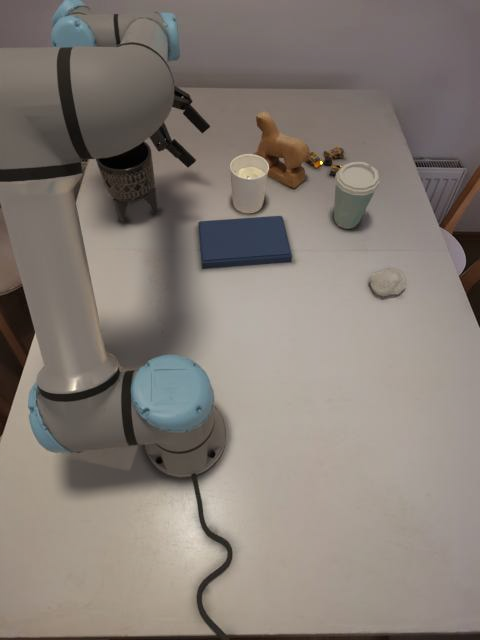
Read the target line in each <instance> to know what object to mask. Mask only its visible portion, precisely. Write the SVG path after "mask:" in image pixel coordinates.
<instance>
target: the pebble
mask: <svg viewBox="0 0 480 640" xmlns="http://www.w3.org/2000/svg"><path fill="white" fill-rule="evenodd" d="M368 280H369V282H370V288H371V290H372V291H373V292H374V294H375V295H377V296H379V297H387V296H391V295H392V296H394V295H396V296H397V295H399V294H401V293H402V291H404V290H405V289H406V288H407V285H408V283H407V279H406V273H405V272H404V271H403V270H402V269H400V268H397V267H385V268H382V269H381V270H378V271H376V272H373V273H372V274H371V275H370V276H369V277H368Z"/></svg>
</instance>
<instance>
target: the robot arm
mask: <svg viewBox="0 0 480 640" xmlns="http://www.w3.org/2000/svg"><path fill="white" fill-rule="evenodd" d="M50 24H51V27H52V29H51V32H50V42H51V46H50V47H46V46H45V47H42V46H41V47H40V46H39V47H0V207H1V211H2V215H3V218H4V222H5V227H6V229H7V233H8V237H9V241H10V244H11V247H12V251H13V256H14V259H15V262H16V267H17V270H18V274H19V277H20V282H21V285H22V288H23V292H24V295H25V300H26V303H27V307H28V311H29V314H30V317H31V318H30V319H31V322H32V325H33V329H34V333H35V337H36V340H37V344H38V348H39V351H40V355H41V359H42V362H43V363H42V364H43V367H42V368H41V369H40V370H39V371H38V373H37V374H36V379H35V380H36V381H35V382H34V383H33V385H32V386H31V388H30V390H29V392H28V398H27V408H28V409H29V414H28V421H29V424H30V428H31V431H32V433H33V435H34V437H35V439H36V441H37V443H38V444H39V445H40V446H41V447H42V448H43V449H44V450H46V451H47V452H49V453H53V454H64V453H65V454H67V453H70V454H80V453H83V452H89V451H96V450H97V451H98V450H107V449H118V448H126V447H127V448H128V447H134V446H144V450H145V452H146V454H147V456H148V458H149V460H150V461H151V463H152V464H153V466H155V467H156V468H157V469H158V470H159V471H160V472H162V473H164V474H165V475H168V476H171V477H174V478H180V479H181V478H182V479H186V478H191V479H192V485H193V490H194V494H195V499H196V504H197V512H198V513H197V515H198V520H199V523H200V527H201V528H202V530H203V532H204V533H205V534H206V535H207V536H208V537H209V538H210V539H212V540H214V541H216V542H218V543H220V544H222V545H223V546H224V547H225V549H226V551H227V553H226V554H227V555H226V556H227V557H226V558H225V561H224V562H223V564H222V565H220V566H219V567H218V568H217V569H215V570H213V572H211V573H210V574H209V575H207V576H206V577H205V578H204V579H202V580H201V582H200V584H199V586H198V588H197V591H196V605H197V609H198V612H199V614H200V616H201V618H202V620H203V621H204V622H205V623H206V624H207V626H208V627H209V628H210V629H211V630H212V631H213V632H214V633H215V634H216V635H217V636H218V637H219V638H220V639H221V640H231V638H230V637H229V635H227V634H226V632H224V631H223V630H222V629H221V628H220V626H219V625H218V624H217V623H215V621H214V620H213V619H211V617H210V616H209V614H208V613H207V611H206V610H205V607H204V605H203V592H204V589H205V587H206V586H207V585H208V584H209V583H210V582H212V581H213V580H214V579H215V578H217V577H218V576H219V575H221V574H222V573H223V572H224V571H226V569H228V567H229V566H230V564H231V563H232V559H233V548H232V545H231V544H230V542H229V541H228V540H227V539H226V538H224V537H222V536H220V535H218V534H216V533H215V532H213V531H212V530H211V529H210V528H209V526H208V525H207V523H206V520H205V515H204V508H203V507H204V506H203V500H202V495H201V491H200V487H199V482H198V478H197V477H198V476H199V475H201V474H203V473H205V472H206V471H208V470H209V469H211V468H212V467H213V466H214V465H215V464H216V463H217V461H218V460H219V459H220V457H221V455H222V453H223V451H224V449H225V444H226V439H227V432H226V424H225V420H224V417H223V416H222V413H221V412H220V410H219V409H218V408H217V407H216V405H215V391H214V389H213V387H212V384H211V380H210V378H209V376H208V373H207V372H206V371H205V370H204V368H203V367H202V366H201V365H199V364H198V363H197V362H196V361H194V360H193V359H191V358H189V357H187V356H183V355H178V354H163V355H159V356H156V357H153V358H151V359H150V360H148V361H147V362H146V364H144V365H142V366H140V368H139V369H133V370H120V364H119V361H118V359H117V357H116V356H115V355H114V354H111V353H110V352H108V351H106V347H105V343H104V337H103V333H102V327H101V323H100V317H99V312H98V307H97V301H96V297H95V292H94V287H93V282H92V276H91V271H90V266H89V261H88V256H87V251H86V246H85V242H84V235H83V231H82V227H81V222H80V216H79V211H78V205H77V201H76V195H75V188H76V186H77V185H78V183H79V182H80V180H81V179H82V177H83V176H84V172H83V171H84V170H83V167H82V161H84V160H96V159H98V158H108V157H112V156H116V155H119V154H122V153H124V152H127V151H129V150H131V149H133V148H134V147H136V146H138V145H140V144H141V143H142V142H144V141H145V142H146V141H147V140H148V139H150V141H151V143H152V144H153V146H154V147H155V149H156V150H157V151H158V152H162V151H164V150H167V151H168V152H169V153H170V154H171V155H172V156H173V157H174V158H176V159H177V160H179V161H180V162H181V163H182V164H183V165H184V166H185V167H186V168H187V169H189V168H190V167H191V166H192V165H193V164H195V163H196V162H197V159H196V158H195V157H194V156H193V155H192V154H191V153H190V152H189V151H188V150H187V149H186V148H185V147H184V146H182V144H181V143H180V142H179V141H177V140H176V139H175V138H174V139H172V137H171V135H170V132H169V130H168V128H167V126H166V123H165V122H166V120H167V119H168V117H169V115H170V113H171V110H172V108H175V109H177V110H179V111H180V110H181V111H182V115H183V116H184V117H185V118H186V119H187V120H188V121H189V122H190V123H191V124H192V125H193V126H194V127H195V128H196V130H198V131H199V132H200V133H201V134H202V135H203V134H204V133H205V132H206V131H207V130H209V129H210V128H211V125H210V124H209V123H208V122H207V120H205V118H204V117H203V116H202V115H200V113H199V112H198V110H196V109H195V107H194V106H192V103H193V102H194V101H193V99H192V98H191V95H190V94H189V93H187V92H186V91H184V90H183V89H181V88H179V87H177V86H176V85H175V80H174V76H173V73H172V70H171V68H170V66H169V63H168V62H174V61H178V60H179V59H180V57H181V50H180V39H179V38H180V37H179V28H178V19H177V16H176V15H175V14H174V13H172V12H161V11H154V12H140V13H94V12H93V11H92V10H91V8H90V7H89V6H88V4H86V3H84V2H83V1H82V0H63V1H62V2H61V4H60V5H59V6H58V8H57V10H56V11H55V13H54V14H53V15H52V17H51V23H50Z"/></svg>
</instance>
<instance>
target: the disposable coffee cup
mask: <svg viewBox="0 0 480 640" xmlns="http://www.w3.org/2000/svg"><path fill="white" fill-rule="evenodd" d="M334 182H335V188H334V205H333V206H334V207H333V208H334V209H333V219H334V223H335V224H336V225H337V226H338V227H340V228H342V229H353V228H355V227H356V226H357V225H359V223H360V222H361V220H362V218H363V216H364V214H365V211H366V210H367V208H368V206H369V204H370V202H371V200H372V198H373V196H374V194H375V193H376V190H378V188H379V187H380V177H379V171H378V169H376V168H375V166H373V165H371V164H369V163H367V162H364V161H351V162H349V163H347V164H344V165H342V168H341V169H340V170H339V171H338V172H337V173H336V175H334Z"/></svg>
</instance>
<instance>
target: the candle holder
mask: <svg viewBox="0 0 480 640" xmlns="http://www.w3.org/2000/svg"><path fill="white" fill-rule="evenodd" d="M229 169H230V185H231V198H232V205H233V208H234V209H235V210H236V211H238V212H240V213H242V214H254V213H257V212H258V211H260V210H261V209H262V208H263V205H264V203H265V202H264V201H265V194H266V189H267V182H268V177H269V176H268V171H269V164H268V162H267V161H266V160H265V159H264V158H262V157H260V156H258V155H254V153H245V154H241V155H238V156H236V157H235V158H233V159H232V160H231V162H230V164H229Z"/></svg>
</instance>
